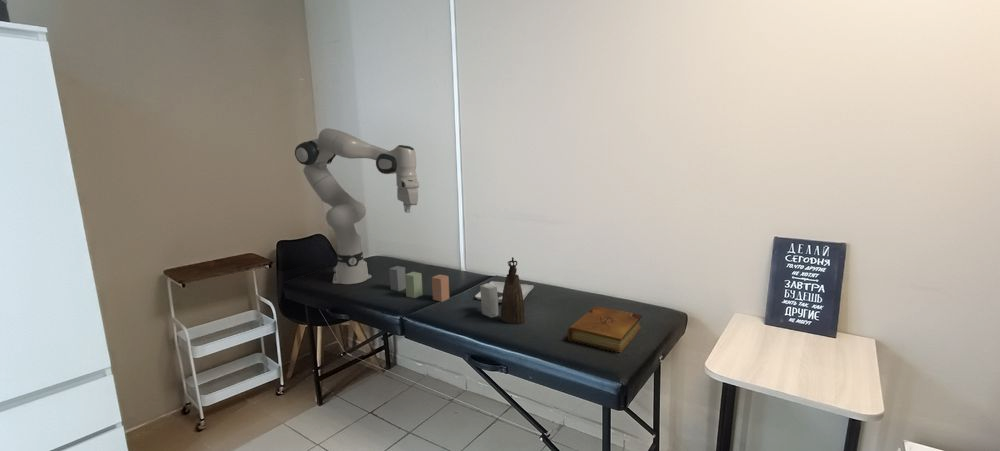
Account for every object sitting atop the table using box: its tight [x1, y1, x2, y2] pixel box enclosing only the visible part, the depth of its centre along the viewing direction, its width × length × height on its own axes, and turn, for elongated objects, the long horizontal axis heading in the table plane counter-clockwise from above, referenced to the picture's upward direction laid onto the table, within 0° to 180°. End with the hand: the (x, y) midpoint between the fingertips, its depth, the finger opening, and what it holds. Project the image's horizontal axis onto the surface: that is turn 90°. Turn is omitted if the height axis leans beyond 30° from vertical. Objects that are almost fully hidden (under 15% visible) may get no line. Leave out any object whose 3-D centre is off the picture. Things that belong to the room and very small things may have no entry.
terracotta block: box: [431, 274, 450, 303], centre depth 200 cm, size 5×5×10 cm
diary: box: [567, 305, 643, 354], centre depth 165 cm, size 23×19×6 cm
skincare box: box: [479, 282, 499, 318], centre depth 184 cm, size 6×4×12 cm
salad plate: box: [474, 280, 535, 304], centre depth 205 cm, size 21×21×3 cm
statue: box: [500, 257, 526, 325], centre depth 176 cm, size 9×8×25 cm
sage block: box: [405, 271, 423, 299], centre depth 205 cm, size 5×5×10 cm
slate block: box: [388, 265, 406, 292], centre depth 214 cm, size 5×5×10 cm
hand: (407, 212), depth 212 cm, fingers closed
